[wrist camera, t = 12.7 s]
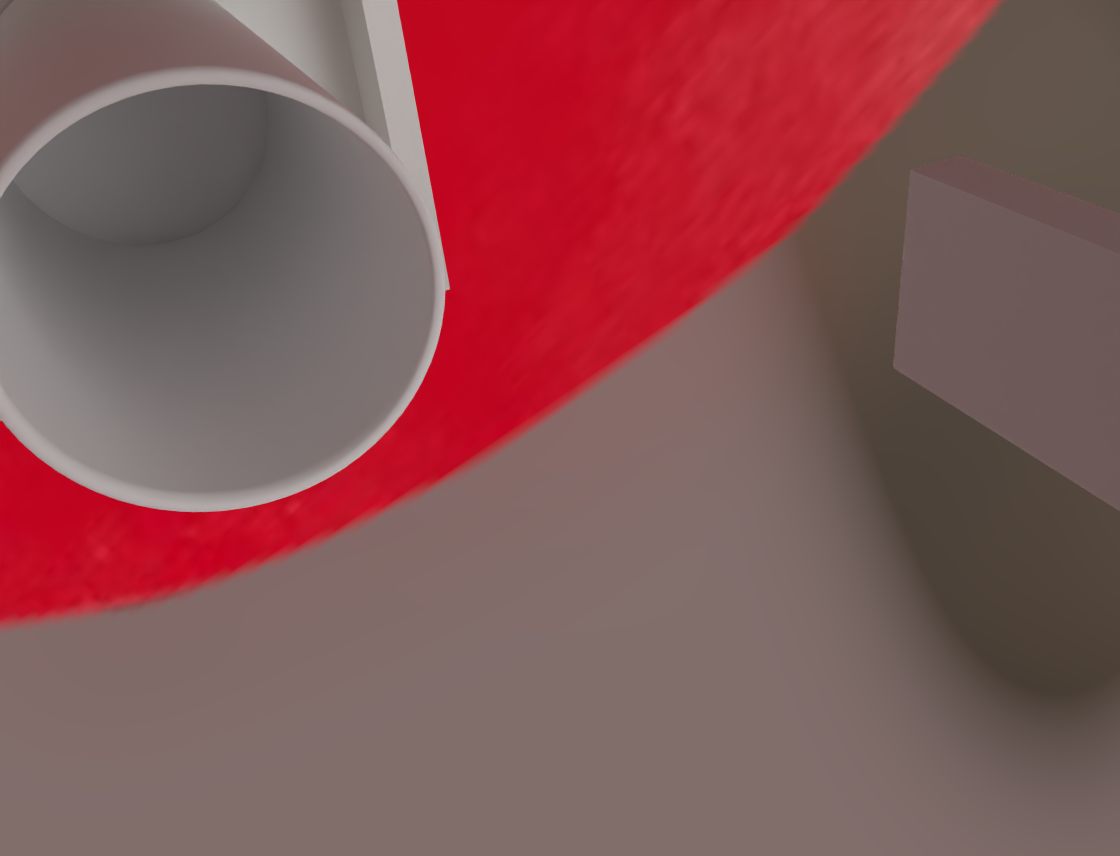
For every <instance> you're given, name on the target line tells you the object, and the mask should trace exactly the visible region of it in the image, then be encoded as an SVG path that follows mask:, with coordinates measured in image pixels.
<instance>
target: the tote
mask: <svg viewBox="0 0 1120 856" xmlns="http://www.w3.org/2000/svg"><path fill="white" fill-rule="evenodd" d="M12 1H13V0H0V15H1V13H2V12H3V11H4V10H5V9H6V8H7V7H8V6H9V4H10V3H11V2H12ZM214 1H216V2H217V3H218V4H219V5H221V6H222V7H223V8H224V9H226V10H227V11H228V12H229V13H231V14H232V15H233V16H234V17H236V18H237V19H238V20H239V21H240V22H242V23H243V24H244V25H245V26H247V27H248V28H249V29H250V30H252V31H253V32H254V33H255V34H257V35H258V36H259V37H260V38H262V39H263V40H264V41H265V42H266V43H268V44H269V45H270V46H271V47H273V48H274V49H275V50H276V51H278V52H279V53H280V54H281V55H283V56H284V57H285V58H286V59H288V60H289V61H290V62H291V63H292V64H294V65H295V66H296V67H297V68H299V69H300V70H301V71H302V72H304V73H305V74H306V75H307V76H309V77H310V78H311V79H312V80H314V81H315V82H316V83H317V84H318V85H320V86H321V87H322V88H323V89H325V90H326V91H327V92H328V93H330V94H331V95H332V96H333V97H334V98H336V99H337V100H338V101H339V102H340V103H342V104H343V105H344V106H345V107H347V108H348V109H349V110H350V111H351V112H353V113H354V114H355V115H356V116H358V117H359V118H360V119H361V120H362V121H363V122H365V123H366V124H367V125H368V126H369V127H370V128H372V129H373V130H374V131H375V132H376V133H377V134H378V135H379V136H380V137H381V138H382V139H383V140H384V141H385V143H386V144H387V145H388V146H389V147H390V148H391V149H392V150H393V152H394V153H395V154H396V156H397V157H398V158H399V159H400V161H401V162H402V163H403V165H404V166H405V168H406V169H407V171H408V172H409V174H410V175H411V177H412V178H413V180H414V182H415V183H416V185H417V186H418V188H419V190H420V192H421V194H422V196H423V198H424V200H425V202H426V204H427V206H428V208H429V210H430V213H431V216H432V218H433V221H434V224H435V226H436V230H437V234H438V237H439V241H440V245H441V250H442V256H443V263H444V273H445V290H449V289H450V287H449V281H448V276H447V271H446V265H445V260H444V254H443V249H442V244H441V238H440V233H439V227H438V222H437V217H436V211H435V206H434V200H433V195H432V189H431V184H430V179H429V173H428V168H427V162H426V157H425V152H424V146H423V141H422V135H421V130H420V125H419V119H418V114H417V108H416V103H415V97H414V92H413V87H412V81H411V76H410V70H409V65H408V60H407V54H406V49H405V43H404V38H403V32H402V27H401V22H400V16H399V11H398V5H397V0H214ZM0 421H2V420H1V418H0Z"/></svg>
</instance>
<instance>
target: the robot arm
mask: <svg viewBox="0 0 1120 856" xmlns="http://www.w3.org/2000/svg"><path fill="white" fill-rule="evenodd" d="M893 368H894V369H896V370H898V371H899V372H901V373H902V374H904V375H905V376H907V377H909V378H910V379H912V380H913V381H915V382H917V383H918V384H920V385H921V386H923V387H924V388H926V389H928V390H929V391H931V392H932V393H934V394H936V395H937V396H939V397H940V398H942V399H943V400H945V401H947V402H948V403H950V404H951V405H953V406H955V407H956V408H958V409H959V410H961V411H962V412H964V413H965V414H967V415H969V416H970V417H972V418H973V419H975V420H977V421H978V422H980V423H981V424H983V425H985V426H986V427H988V428H989V429H991V430H992V431H994V432H995V433H997V434H999V435H1000V436H1002V437H1004V438H1005V439H1007V440H1008V441H1010V442H1012V443H1013V444H1014V445H1016V446H1018V447H1019V448H1021V449H1023V450H1024V451H1026V452H1027V453H1029V454H1030V455H1032V456H1033V457H1035V458H1037V459H1038V460H1040V461H1041V462H1043V463H1044V464H1046V465H1048V466H1049V467H1051V468H1052V469H1054V470H1056V471H1057V472H1059V473H1060V474H1062V475H1064V476H1065V477H1067V478H1068V479H1070V480H1071V481H1073V482H1074V483H1076V484H1078V485H1079V486H1081V487H1082V488H1084V489H1086V490H1087V491H1089V492H1090V493H1092V494H1094V495H1095V496H1097V497H1098V498H1100V499H1101V500H1103V501H1105V502H1106V503H1108V504H1109V505H1111V506H1113V507H1114V508H1116V509H1117V510H1119V511H1120V214H1119V213H1116V212H1113V211H1111V210H1108V209H1105V208H1102V207H1100V206H1097V205H1094V204H1092V203H1089V202H1086V201H1083V200H1081V199H1078V198H1075V197H1072V196H1069V195H1067V194H1064V193H1061V192H1059V191H1056V190H1053V189H1050V188H1048V187H1045V186H1042V185H1040V184H1037V183H1034V182H1031V181H1029V180H1026V179H1023V178H1020V177H1018V176H1015V175H1012V174H1010V173H1007V172H1004V171H1001V170H999V169H996V168H993V167H990V166H988V165H985V164H982V163H980V162H977V161H974V160H971V159H969V158H966V157H963V156H957V157H954V158H950V159H947V160H943V161H940V162H936V163H933V164H930V165H926V166H922V167H919V168H915V169H912V170H911V171H910V181H909V193H908V204H907V215H906V226H905V239H904V250H903V260H902V272H901V283H900V295H899V307H898V317H897V329H896V340H895V352H894V362H893Z"/></svg>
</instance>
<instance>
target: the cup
mask: <svg viewBox="0 0 1120 856" xmlns="http://www.w3.org/2000/svg"><path fill="white" fill-rule="evenodd" d="M444 304H445V273H444V263H443V256H442V250H441V245H440V241H439V237H438V234H437V230H436V226H435V224H434V221H433V218H432V216H431V213H430V210H429V208H428V206H427V204H426V202H425V200H424V198H423V196H422V194H421V192H420V190H419V188H418V186H417V185H416V183H415V182H414V180H413V178H412V177H411V175H410V174H409V172H408V171H407V169H406V168H405V166H404V165H403V163H402V162H401V161H400V159H399V158H398V157H397V156H396V154H395V153H394V152H393V150H392V149H391V148H390V147H389V146H388V145H387V144H386V143H385V141H384V140H383V139H382V138H381V137H380V136H379V135H378V134H377V133H376V132H375V131H374V130H373V129H372V128H370V127H369V126H368V125H367V124H366V123H365V122H363V121H362V120H361V119H360V118H359V117H358V116H356V115H355V114H354V113H353V112H351V111H350V110H349V109H348V108H347V107H345V106H344V105H343V104H342V103H340V102H339V101H338V100H337V99H336V98H334V97H333V96H332V95H331V94H330V93H328V92H327V91H326V90H325V89H323V88H322V87H321V86H320V85H318V84H317V83H316V82H315V81H314V80H312V79H311V78H310V77H309V76H307V75H306V74H305V73H304V72H302V71H301V70H300V69H299V68H297V67H296V66H295V65H294V64H292V63H291V62H290V61H289V60H288V59H286V58H285V57H284V56H283V55H281V54H280V53H279V52H278V51H276V50H275V49H274V48H273V47H271V46H270V45H269V44H268V43H266V42H265V41H264V40H263V39H262V38H260V37H259V36H258V35H257V34H255V33H254V32H253V31H252V30H250V29H249V28H248V27H247V26H245V25H244V24H243V23H242V22H240V21H239V20H238V19H237V18H236V17H234V16H233V15H232V14H231V13H229V12H228V11H227V10H226V9H224V8H223V7H222V6H221V5H219V4H218V3H217V2H216V1H214V0H13V1H12V2H11V3H10V4H9V6H8V7H7V8H6V9H5V10H4V11H3V12H2V13H1V15H0V418H1V420H2V421H3V422H4V424H5V425H6V426H7V427H8V428H9V430H10V431H11V432H12V433H13V434H14V435H15V436H16V437H17V438H18V439H19V440H20V442H21V443H23V444H24V445H25V446H26V447H27V448H28V449H29V450H30V451H32V452H33V453H34V454H35V455H36V456H37V457H38V458H40V459H41V460H42V461H44V462H45V463H46V464H48V465H49V466H51V467H52V468H53V469H55V470H56V471H58V472H59V473H61V474H63V475H64V476H66V477H68V478H70V479H71V480H73V481H75V482H76V483H78V484H81V485H83V486H85V487H87V488H89V489H91V490H93V491H95V492H98V493H101V494H103V495H106V496H109V497H112V498H114V499H117V500H120V501H124V502H128V503H132V504H135V505H139V506H144V507H150V508H155V509H161V510H171V511H182V512H211V511H225V510H233V509H239V508H246V507H251V506H255V505H260V504H264V503H268V502H271V501H275V500H278V499H281V498H284V497H287V496H290V495H292V494H295V493H297V492H300V491H302V490H305V489H307V488H309V487H311V486H313V485H315V484H317V483H319V482H321V481H323V480H325V479H327V478H329V477H330V476H332V475H334V474H335V473H337V472H338V471H340V470H342V469H343V468H345V467H346V466H348V465H349V464H350V463H352V462H353V461H354V460H356V459H357V458H359V457H360V456H361V455H362V454H363V453H365V452H366V451H367V450H368V449H369V448H370V447H372V446H373V445H374V444H375V443H376V442H377V441H378V440H379V439H380V438H381V437H382V436H383V435H384V434H385V433H386V432H387V431H388V430H389V429H390V428H391V426H392V425H393V424H394V423H395V422H396V420H397V419H398V418H399V417H400V416H401V414H402V413H403V412H404V410H405V409H406V407H407V406H408V404H409V403H410V401H411V400H412V398H413V397H414V395H415V393H416V392H417V390H418V388H419V386H420V384H421V383H422V381H423V379H424V377H425V374H426V372H427V370H428V368H429V366H430V363H431V361H432V358H433V355H434V352H435V349H436V346H437V343H438V338H439V334H440V330H441V326H442V319H443V312H444Z"/></svg>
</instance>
